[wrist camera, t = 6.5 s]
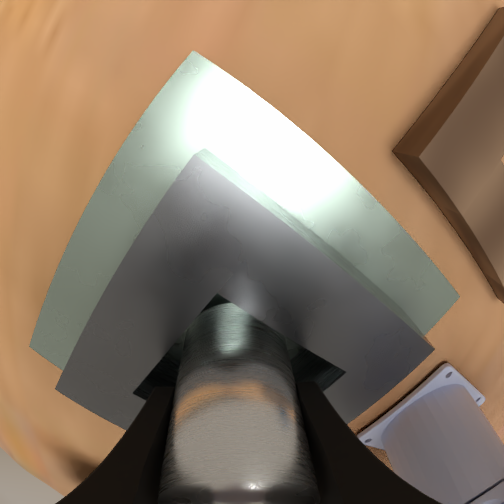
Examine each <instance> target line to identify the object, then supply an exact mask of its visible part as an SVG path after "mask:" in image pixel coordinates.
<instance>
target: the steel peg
mask: <svg viewBox="0 0 504 504" xmlns="http://www.w3.org/2000/svg"><path fill="white" fill-rule="evenodd" d="M319 502H320V496H319V491H318V486H317V481H316V477H315V472H314V467H313V463H312V458H311V453H310V449H309V444H308V439H307V435H306V430H305V425H304V421H303V416H302V412H301V407H300V403H299V398H298V394H297V389H296V385H295V380H294V376H293V371H292V367H291V362H290V358H289V353H288V349H287V345H286V340H285V336H284V335H283V334H281V333H279V332H278V331H276V330H274V329H273V328H271V327H270V326H268V325H266V324H265V323H263V322H262V321H260V320H258V319H257V318H255V317H254V316H252V315H250V314H249V313H247V312H246V311H244V310H242V309H241V308H239V307H238V306H236V305H235V304H233V303H228V304H222V305H217V306H214V307H211V308H209V309H207V310H205V311H204V312H202V313H201V314H199V315H198V316H197V317H196V318H195V320H194V321H193V322H192V323H191V324H190V325H189V327H188V330H187V332H186V336H185V341H184V346H183V351H182V356H181V361H180V366H179V372H178V377H177V382H176V387H175V393H174V398H173V404H172V410H171V415H170V421H169V427H168V433H167V439H166V445H165V452H164V458H163V465H162V472H161V479H160V486H159V493H158V504H319Z"/></svg>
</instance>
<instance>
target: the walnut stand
mask: <svg viewBox="0 0 504 504" xmlns="http://www.w3.org/2000/svg"><path fill="white" fill-rule="evenodd" d="M392 152H393V153H394V154H395V155H396V156H397V157H398V158H399V159H400V161H401V162H402V163H403V164H404V165H405V166H406V167H407V169H408V170H409V171H410V172H411V173H412V174H413V176H414V177H415V178H416V179H417V180H418V182H419V183H420V184H421V185H422V187H423V188H424V189H425V190H426V192H427V193H428V194H429V195H430V197H431V198H432V199H433V200H434V202H435V203H436V204H437V206H438V207H439V208H440V210H441V211H442V212H443V214H444V215H445V216H446V218H447V219H448V220H449V222H450V223H451V225H452V226H453V227H454V229H455V230H456V232H457V233H458V235H459V236H460V237H461V239H462V240H463V242H464V243H465V245H466V246H467V248H468V249H469V251H470V252H471V254H472V256H473V257H474V259H475V260H476V262H477V263H478V265H479V267H480V268H481V270H482V272H483V273H484V275H485V277H486V278H487V280H488V282H489V283H490V285H491V287H492V289H493V290H494V292H495V294H496V296H497V298H498V299H499V300H500V301H502V302H503V303H504V165H503V163H502V161H501V158H502V157H503V155H504V7H502V8H499V9H498V11H497V12H496V14H495V15H494V17H493V18H492V20H491V21H490V23H489V24H488V25H487V27H486V28H485V30H484V31H483V33H482V34H481V35H480V37H479V38H478V40H477V41H476V43H475V44H474V45H473V47H472V48H471V50H470V51H469V52H468V54H467V55H466V56H465V58H464V59H463V61H462V62H461V63H460V65H459V66H458V67H457V69H456V70H455V71H454V73H453V74H452V75H451V77H450V78H449V79H448V81H447V82H446V83H445V85H444V86H443V87H442V89H441V90H440V91H439V93H438V94H437V95H436V97H435V98H434V99H433V101H432V102H431V103H430V104H429V106H428V107H427V108H426V110H425V111H424V112H423V113H422V115H421V116H420V117H419V119H418V120H417V121H416V122H415V124H414V125H413V126H412V127H411V129H410V130H409V131H408V132H407V134H406V135H405V136H404V137H403V139H402V140H401V141H400V142H399V144H398V145H397V146H396V147H395V149H394V150H393V151H392Z"/></svg>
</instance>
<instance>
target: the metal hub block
mask: <svg viewBox="0 0 504 504" xmlns="http://www.w3.org/2000/svg"><path fill="white" fill-rule="evenodd" d="M459 297H460V296H459V295H458V293H457V292H456V291H455V289H454V288H453V287H452V285H451V284H450V283H449V282H448V280H447V279H446V278H445V277H444V275H443V274H442V273H441V272H440V270H439V269H438V268H437V267H436V266H435V264H434V263H433V262H432V261H431V260H430V258H429V257H428V256H427V255H426V254H425V252H424V251H423V250H422V249H421V248H420V247H419V246H418V244H417V243H416V242H415V241H414V240H413V239H412V238H411V236H410V235H409V234H408V233H407V232H406V231H405V230H404V229H403V228H402V226H401V225H400V224H399V223H398V222H397V221H396V220H395V219H394V218H393V217H392V216H391V215H390V214H389V213H388V211H387V210H386V209H385V208H384V207H383V206H382V205H381V204H380V203H379V202H378V201H377V200H376V199H375V198H374V197H373V196H372V195H371V194H370V193H369V192H368V191H367V190H366V189H365V188H364V187H363V186H362V185H361V184H360V183H359V182H358V181H357V180H356V179H355V178H354V177H353V176H352V175H351V174H349V173H348V172H347V171H346V170H345V169H344V168H343V167H342V166H341V165H340V164H339V163H338V162H337V161H336V160H335V159H333V158H332V157H331V156H330V155H329V154H328V153H327V152H326V151H325V150H323V149H322V148H321V147H320V146H319V145H318V144H317V143H316V142H314V141H313V140H312V139H311V138H310V137H309V136H307V135H306V134H305V133H304V132H303V131H302V130H300V129H299V128H298V127H297V126H296V125H294V124H293V123H292V122H291V121H290V120H288V119H287V118H286V117H285V116H283V115H282V114H281V113H280V112H278V111H277V110H276V109H275V108H273V107H272V106H271V105H270V104H268V103H267V102H266V101H264V100H263V99H262V98H260V97H259V96H258V95H257V94H255V93H254V92H253V91H251V90H250V89H248V88H247V87H246V86H244V85H243V84H242V83H240V82H239V81H238V80H236V79H235V78H233V77H232V76H231V75H229V74H228V73H226V72H225V71H223V70H222V69H220V68H219V67H218V66H216V65H215V64H213V63H212V62H210V61H209V60H207V59H206V58H204V57H203V56H201V55H200V54H198V53H196V52H195V51H192V52H191V54H190V55H189V56H188V57H187V58H186V59H185V61H184V62H183V63H182V64H181V65H180V67H179V68H178V69H177V70H176V71H175V73H174V74H173V75H172V76H171V78H170V79H169V80H168V81H167V83H166V84H165V85H164V87H163V88H162V89H161V91H160V92H159V93H158V95H157V96H156V97H155V99H154V100H153V101H152V103H151V104H150V105H149V107H148V108H147V109H146V111H145V112H144V114H143V115H142V117H141V118H140V119H139V121H138V122H137V124H136V125H135V127H134V128H133V130H132V131H131V133H130V134H129V136H128V137H127V139H126V140H125V142H124V143H123V145H122V146H121V148H120V150H119V151H118V153H117V154H116V156H115V158H114V159H113V161H112V163H111V164H110V166H109V167H108V169H107V171H106V173H105V174H104V176H103V178H102V179H101V181H100V183H99V185H98V186H97V188H96V190H95V192H94V194H93V196H92V197H91V199H90V201H89V203H88V205H87V207H86V209H85V211H84V212H83V214H82V216H81V218H80V220H79V222H78V224H77V226H76V228H75V230H74V233H73V235H72V237H71V239H70V241H69V243H68V245H67V247H66V250H65V252H64V254H63V256H62V259H61V261H60V263H59V266H58V268H57V270H56V273H55V275H54V278H53V280H52V283H51V285H50V288H49V290H48V293H47V295H46V298H45V301H44V304H43V306H42V309H41V312H40V315H39V318H38V321H37V324H36V327H35V330H34V333H33V336H32V339H31V342H30V346H29V347H31V348H32V349H33V350H35V351H36V352H37V353H39V354H40V355H41V356H43V357H44V358H46V359H47V360H48V361H50V362H51V363H53V364H54V365H55V366H57V367H58V368H60V369H61V370H63V372H62V375H61V377H60V379H59V381H58V383H57V386H56V388H55V389H56V390H57V391H59V392H60V393H62V394H63V395H65V396H66V397H68V398H70V399H71V400H73V401H74V402H76V403H78V404H79V405H81V406H83V407H84V408H86V409H88V410H90V411H91V412H93V413H95V414H97V415H98V416H100V417H102V418H104V419H106V420H108V421H109V422H111V423H113V424H115V425H117V426H119V427H121V428H123V429H125V430H127V429H128V428H129V427H130V425H131V424H132V422H133V421H134V419H135V418H136V416H137V415H138V413H139V412H140V410H141V409H142V407H143V405H144V404H145V402H146V400H147V399H148V397H149V395H150V394H151V392H152V390H153V389H154V388H155V387H156V386H157V387H174V390H175V387H176V382H177V377H178V372H179V366H180V361H181V356H182V351H183V346H184V341H185V336H186V332H187V330H188V327H189V325H190V324H191V323H192V322H193V321H194V320H195V318H196V317H197V316H198V315H199V314H201V313H202V312H204V311H205V310H207V309H209V308H211V307H214V306H217V305H222V304H228V303H233V304H235V305H236V306H238V307H239V308H241V309H242V310H244V311H246V312H247V313H249V314H250V315H252V316H254V317H255V318H257V319H258V320H260V321H262V322H263V323H265V324H266V325H268V326H270V327H271V328H273V329H274V330H276V331H278V332H279V333H281V334H283V335H284V336H285V340H286V345H287V349H288V353H289V358H290V362H291V367H292V371H293V376H294V380H295V385H296V383H299V382H309V381H316V382H317V383H318V385H319V386H320V388H321V390H322V391H323V393H324V394H325V396H326V397H327V399H328V400H329V402H330V403H331V405H332V406H333V407H334V409H335V410H336V411H337V413H338V414H339V415H340V417H341V418H342V419H343V421H344V422H345V423H346V424H348V423H349V422H351V421H352V420H353V419H355V418H356V417H357V416H359V415H360V414H361V413H363V412H364V411H365V410H367V409H368V408H369V407H370V406H372V405H373V404H374V403H376V402H377V401H378V400H379V399H380V398H382V397H383V396H384V395H385V394H387V393H388V392H389V391H390V390H391V389H392V388H394V387H395V386H396V385H397V384H398V383H399V382H401V381H402V380H403V379H404V378H405V377H406V376H407V375H408V374H410V373H411V372H412V371H413V370H414V369H415V368H416V367H417V366H418V365H419V364H420V363H421V362H422V361H424V360H425V359H426V358H427V357H428V356H429V355H430V354H431V353H432V352H433V351H434V350H435V349H434V347H433V346H432V345H431V344H430V342H429V341H428V340H427V338H426V337H425V334H426V333H427V332H428V331H429V330H430V329H431V328H432V327H433V326H434V325H435V324H436V323H437V322H438V321H439V320H440V319H441V318H442V317H443V315H444V314H445V313H446V312H447V311H448V310H449V309H450V308H451V307H452V305H453V304H454V303H455V302H456V301H457V300H458V298H459Z"/></svg>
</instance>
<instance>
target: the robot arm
mask: <svg viewBox="0 0 504 504" xmlns="http://www.w3.org/2000/svg"><path fill="white" fill-rule="evenodd" d="M296 389H297V394H298V398H299V403H300V407H301V412H302V416H303V421H304V425H305V430H306V435H307V439H308V444H309V449H310V453H311V458H312V463H313V467H314V472H315V477H316V481H317V486H318V491H319V496H320V502H319V504H504V444H503V443H502V441H501V440H500V438H499V436H498V435H497V433H496V432H495V430H494V429H493V427H492V426H491V424H490V423H489V421H488V420H487V418H486V417H485V415H484V414H483V412H482V411H481V409H480V408H479V406H480V405H481V404H482V403H483V402H484V401H485V397H484V395H482V394H481V393H480V392H479V391H478V390H477V389H476V388H475V387H474V386H473V385H472V384H471V383H470V382H469V381H468V380H467V379H466V378H464V377H463V376H462V375H461V374H460V373H459V372H458V371H457V370H456V369H455V368H454V367H453V366H451V365H450V364H449V363H445V364H443V365H442V366H440V367H439V368H438V369H437V370H436V371H435V372H434V373H433V374H432V375H431V376H430V377H429V378H428V379H427V380H425V381H424V382H423V383H422V384H421V385H420V386H419V387H418V388H416V389H415V390H414V391H413V392H412V393H411V394H410V395H408V396H407V397H406V398H405V399H404V400H402V401H401V402H400V403H399V404H398V405H396V406H395V407H394V408H393V409H391V410H390V411H389V412H388V413H386V414H385V415H384V416H382V417H381V418H380V419H378V420H377V421H376V422H374V423H373V424H372V425H370V426H369V427H368V428H366V429H365V430H363V431H362V432H361V433H359V434H358V435H357V436H356V435H355V434H354V433H353V432H352V430H351V429H350V428H349V427H348V425H347V424H346V423H345V422H344V421H343V419H342V418H341V417H340V415H339V414H338V413H337V411H336V410H335V409H334V407H333V406H332V405H331V403H330V402H329V400H328V399H327V397H326V396H325V394H324V393H323V391H322V390H321V388H320V386H319V385H318V383H317V382H316V381H309V382H299V383H296ZM174 393H175V390H174V387H157V386H156V387H155V388H154V389H153V390H152V392H151V394H150V395H149V397H148V399H147V400H146V402H145V404H144V405H143V407H142V409H141V410H140V412H139V413H138V415H137V416H136V418H135V419H134V421H133V422H132V424H131V425H130V427H129V428H128V429H127V431H126V432H125V434H124V435H123V437H122V438H121V439H120V440H119V442H118V443H117V444H116V446H115V447H114V448H113V449H112V451H111V452H110V453H109V454H108V456H107V457H106V458H105V459H104V460H103V461H102V463H101V464H100V465H99V466H98V467H97V468H96V469H95V470H94V471H93V472H92V473H91V474H90V475H89V476H88V477H87V478H86V479H85V480H84V481H83V482H82V483H81V484H80V485H79V486H77V487H76V488H75V489H74V490H73V491H72V492H70V493H69V494H68V495H67V496H65V497H64V498H63V499H61V500H60V501H59V502H57V503H56V504H158V493H159V486H160V479H161V472H162V465H163V458H164V452H165V445H166V439H167V433H168V427H169V421H170V415H171V410H172V404H173V398H174ZM365 445H368V446H371V447H375V448H378V449H382V450H385V451H386V454H387V456H388V459H389V461H390V464H391V466H392V469H393V471H392V470H391V469H389V468H388V467H387V466H386V465H385V464H384V463H382V462H381V461H380V460H379V459H378V458H377V457H376V456H375V455H374V454H373V453H372V452H371V451H370V450H369V449H368V448H367V447H366V446H365Z"/></svg>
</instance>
